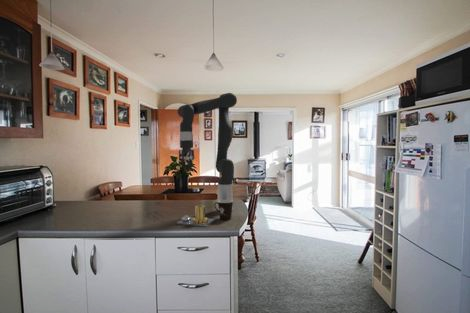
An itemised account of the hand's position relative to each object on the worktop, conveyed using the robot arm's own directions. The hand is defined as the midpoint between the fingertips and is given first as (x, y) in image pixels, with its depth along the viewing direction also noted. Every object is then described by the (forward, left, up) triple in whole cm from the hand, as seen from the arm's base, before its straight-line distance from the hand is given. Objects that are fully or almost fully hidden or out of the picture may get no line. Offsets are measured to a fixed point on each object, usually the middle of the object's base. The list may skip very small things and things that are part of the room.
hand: (187, 167), depth 161 cm
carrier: (+8, +9, -29) cm, 32 cm away
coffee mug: (-5, +21, -29) cm, 36 cm away
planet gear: (+8, +12, -28) cm, 32 cm away
